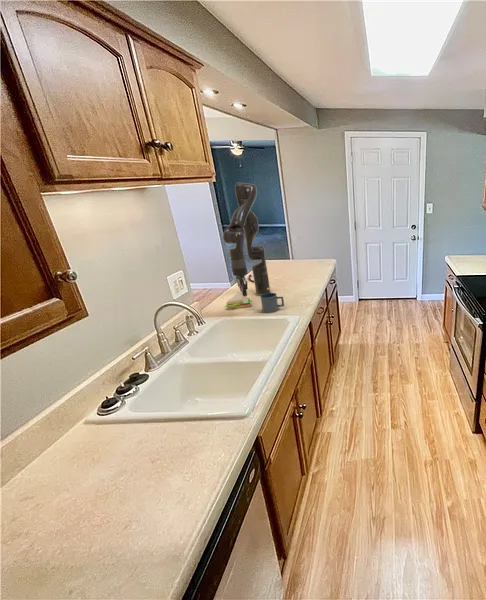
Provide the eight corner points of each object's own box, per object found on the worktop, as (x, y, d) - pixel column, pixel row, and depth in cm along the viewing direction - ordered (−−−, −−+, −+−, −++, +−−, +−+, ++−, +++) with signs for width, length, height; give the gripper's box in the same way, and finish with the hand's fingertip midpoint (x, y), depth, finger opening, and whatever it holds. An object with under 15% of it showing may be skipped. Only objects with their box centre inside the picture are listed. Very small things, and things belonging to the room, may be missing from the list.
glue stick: (241, 302, 193) (239, 287, 190) (247, 300, 195) (244, 285, 192) (243, 303, 191) (240, 288, 188) (248, 302, 193) (246, 287, 190)
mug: (261, 313, 194) (259, 298, 191) (264, 307, 203) (262, 293, 199) (283, 311, 197) (281, 296, 193) (285, 306, 205) (283, 292, 202)
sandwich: (256, 297, 220) (255, 290, 218) (251, 308, 202) (250, 300, 200) (231, 299, 216) (230, 292, 215) (224, 310, 199) (222, 302, 197)
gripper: (250, 267, 183) (254, 296, 189) (242, 263, 193) (246, 290, 199) (235, 270, 178) (241, 299, 184) (228, 265, 188) (233, 293, 194)
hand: (244, 294), depth 192 cm, fingers closed on glue stick, 3 cm apart
